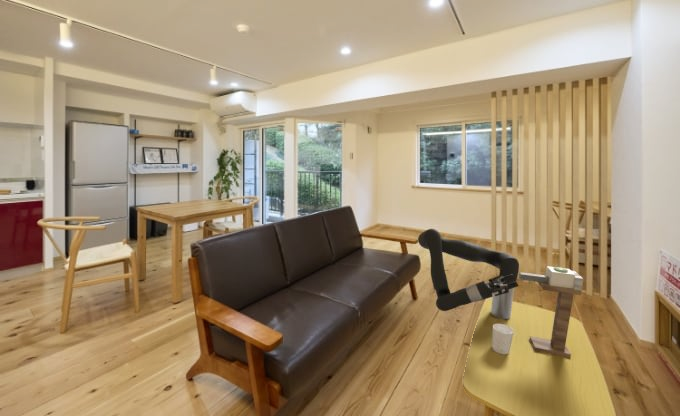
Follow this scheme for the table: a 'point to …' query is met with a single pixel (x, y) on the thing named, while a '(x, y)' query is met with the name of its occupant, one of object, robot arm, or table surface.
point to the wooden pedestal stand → (559, 319)
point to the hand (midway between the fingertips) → (515, 279)
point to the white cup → (502, 338)
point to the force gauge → (552, 277)
